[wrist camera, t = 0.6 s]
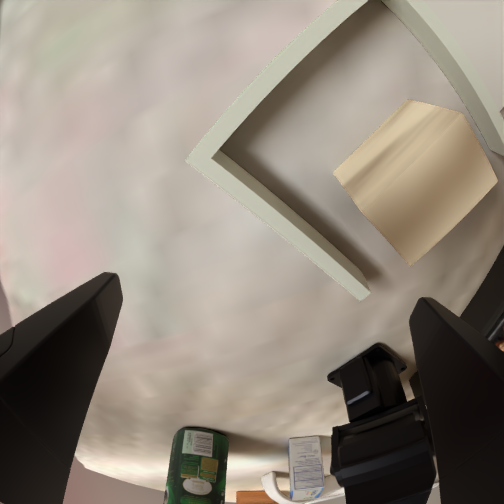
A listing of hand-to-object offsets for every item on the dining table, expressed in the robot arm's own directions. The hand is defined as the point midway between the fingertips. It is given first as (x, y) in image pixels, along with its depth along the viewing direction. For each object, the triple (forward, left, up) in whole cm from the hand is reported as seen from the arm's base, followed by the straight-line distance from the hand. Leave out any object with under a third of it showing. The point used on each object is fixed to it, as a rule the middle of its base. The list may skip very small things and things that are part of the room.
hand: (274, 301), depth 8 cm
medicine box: (-31, +26, -12) cm, 42 cm away
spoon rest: (-49, +38, -12) cm, 63 cm away
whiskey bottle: (-51, +58, -12) cm, 78 cm away
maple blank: (-5, -6, -12) cm, 14 cm away
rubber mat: (-3, -20, -12) cm, 24 cm away
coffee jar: (-18, +34, -12) cm, 40 cm away
